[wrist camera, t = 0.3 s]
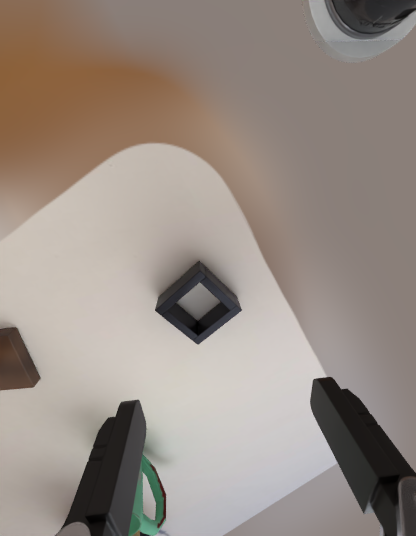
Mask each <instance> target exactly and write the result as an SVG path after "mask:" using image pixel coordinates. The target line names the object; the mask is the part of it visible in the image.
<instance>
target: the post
mask: <svg viewBox="0 0 416 536" xmlns="http://www.w3.org/2000/svg"><path fill="white" fill-rule="evenodd" d="M39 380H40V377H39V375H38V372H37V370H36V368H35V366H34V364H33V362H32V360H31V358H30V356H29V353H28V351H27V349H26V347H25V345H24V343H23V341H22V339H21V336H20V334H19V332H18V330H17V328H10V329H0V390H10V389H21V388H32V387H34V386H35V385H36V384H37V382H38V381H39Z"/></svg>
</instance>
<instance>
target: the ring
mask: <svg viewBox="0 0 416 536" xmlns="http://www.w3.org/2000/svg"><path fill="white" fill-rule="evenodd" d="M199 282H200V283H202V284H203V285H204V286H205V287H206V288H207V289H208V290H209V291H210V292H211V293H212V294H213V295H214V296H216V297H217V298H218V299H219V300H220V301H221V303H220V304H218V305H217V306H216V307H215V308H213V309H212V310H211V311H210V312H208V313H207V314H206V315H205V316H204V317H202V318H201V319H200V320H199V321H197V320H195V319H194V318H193V317H192V316H191V315H190V314H188V313H187V312H186V311H185V310H184V309H182V308H181V307H180V306H179V305H178V304H176V302H177V301H178V300H179V299H181V298H182V297H183V296H184V295H185V294H186V293H188V292H189V291H190V290H191V289H192V288H193V287H194V286H196V285H197V284H198V283H199ZM155 311H156V312H157V313H159V314H160V315H161V316H162V317H164V318H165V319H166V320H167V321H169V322H170V323H171V324H172V325H174V326H175V327H176V328H177V329H179V330H180V331H181V332H183V333H184V334H185V335H186V336H188V337H189V338H190V339H191V340H193V341H194V342H195V343H196V344H200V343H201V342H202V341H203V340H205V339H206V338H207V337H209V336H210V335H211V334H212V333H214V332H215V331H216V330H217V329H219V328H220V327H221V326H223V325H224V324H225V323H226V322H228V321H229V320H230V319H232V318H233V317H234V316H235V315H237V314H238V313H239V312H241V311H242V309H241V306H240V304H239V301H238V298H237V297H236V296H235V295H234V294H233V293H232V292H231V291H230V290H229V289H228V288H227V287H226V286H225V285H224V284H223V283H222V282H221V281H220V280H219V279H218V278H217V277H216V276H215V275H214V274H213V273H212V272H211V271H210V270H209V269H208V268H207V267H206V266H204V265H203V264H202V263H201V262H200V261H198V262H197V263H196V264H195V265H194V266H193V267H192V268H191V269H190V270H188V271H187V272H186V273H185V274H184V275H183V276H182V277H181V278H179V279H178V280H177V281H176V282H175V283H174V284H173V285H172V286H171V287H169V288H168V289H167V290H166V291H165V292H164V293H163V294H162V295H160V296H159V297H158V301H157V305H156V308H155Z"/></svg>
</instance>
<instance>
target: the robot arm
mask: <svg viewBox="0 0 416 536" xmlns="http://www.w3.org/2000/svg"><path fill="white" fill-rule="evenodd" d="M325 4H326V7H327V10H328V12H329V15H330V17H331V19H332V20H333V22H334V23H335V25H336V26H337V27H338V28H339V29H340V30H341V31H342V32H343V33H345V34H346V35H348V36H350V37H352V38H355V39H363V40H365V39H372V38H376V37H379V36H381V35H383V34H385V33H387V32H388V31H390V30H391V29H393V28H394V27H396V26H398V25H399V24H400V23H402V22H403V20H404V19H405V18H406V19H407V17H408V16H409V15H410V14H411V13H413V12H414V11H415V10H416V0H325ZM414 13H415V12H414ZM414 13H413V14H414ZM410 16H411V15H410ZM410 16H409V17H410ZM406 19H405V20H406ZM310 404H311V409H312V412H313V415H314V417H315V419H316V421H317V423H318V425H319V427H320V429H321V431H322V433H323V435H324V437H325V438H326V440H327V442H328V444H329V446H330V448H331V450H332V452H333V454H334V456H335V458H336V460H337V462H338V464H339V466H340V468H341V470H342V472H343V474H344V476H345V478H346V480H347V482H348V484H349V486H350V487H351V489H352V492H353V493H354V495H355V497H356V499H357V501H358V503H359V505H360V507H361V509H362V511H363V513H364V514H366V513H372V512H374V513H375V514H376V516H377V518H378V520H379V522H380V536H416V473H415V472H414V470H413V469H412V468H411V467H410V465H409V464H408V463H407V461H406V460H405V459H404V457H403V456H402V455H401V453H400V452H399V451H398V449H397V448H396V447H395V445H394V444H393V443H392V441H391V440H390V439H389V437H388V436H387V435H386V433H385V432H384V431H383V429H382V428H381V427H380V425H378V424H377V422H376V420H375V419H374V417H373V416H372V415H371V414H370V413H369V411H368V409H367V408H366V407H365V405H364V404H363V403H362V401H361V400H360V399H359V398H358V397H357V396H355V395H354V394H353V393H352V392H350V391H349V390H348V389H340V387H339V386H338V384H337V383H336V381H335V380H334V379H333V378H332V377H326V378H317V379H314V380H313V385H312V392H311V399H310ZM145 437H146V421H145V417H144V414H143V411H142V407H141V404H140V401H139V400H132V401H124V402H121V403H120V405H119V408H118V411H117V414H116V417H110V418H108V419H107V420H106V421H105V423H104V424H103V426H102V427H101V428H100V430H99V432H98V434H97V437H96V440H95V443H94V445H93V449H92V451H91V454H90V456H89V461H88V462H87V465H86V468H85V470H84V473H83V476H82V479H81V481H80V484H79V487H78V490H77V492H76V495H75V498H74V501H73V504H72V506H71V509H70V512H69V514H68V517H67V519H66V521H65V523H64V525H63V526H62V528H61V530H60V531H59V532H58V533H57V534H56V535H55V536H128V534H129V529H130V523H131V517H132V511H133V506H134V500H135V494H136V489H137V483H138V477H139V471H140V466H141V460H142V454H143V449H144V443H145Z"/></svg>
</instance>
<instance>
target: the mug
mask: <svg viewBox="0 0 416 536" xmlns="http://www.w3.org/2000/svg"><path fill="white" fill-rule="evenodd" d="M142 472H143V473H144V474H145V475H146V476H147V478H148V481H149V484H150V487H151V490H152V492H153V495H154V498H155V501H156V516H155V520H151V519H149V518H148V517H147V516H146V515H144V514H143V474H142ZM165 521H166V493H165V491H164V488H163V486H162V484H161V481H160V479H159V476H158V474H157V471H156V469H155V467H154V466H153V465H152V464H151V463H150V462H149V460H148V459H147V458H146V457H145V456H144V455H143V454H142V460H141V466H140V471H139V477H138V483H137V489H136V494H135V500H134V506H133V511H132V517H131V523H130V529H129V534H128V536H132V535H134V534H135V533H136V532H137V531H138V530H140V531H141V532H143V533H145V534H148V535H152V536H154V535H156V534H157V532H158V531H159V530H160V528H161V527H162V525H163V524H164V522H165Z"/></svg>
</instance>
